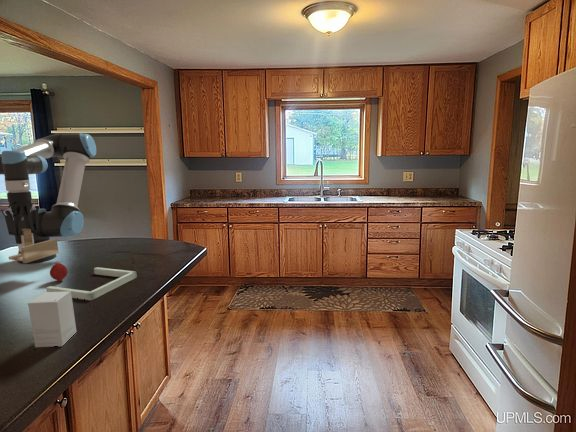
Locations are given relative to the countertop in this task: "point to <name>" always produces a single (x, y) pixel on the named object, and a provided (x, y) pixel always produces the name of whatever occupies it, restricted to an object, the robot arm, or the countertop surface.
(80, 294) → the sage frame
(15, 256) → the wooden scraper
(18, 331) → the countertop surface
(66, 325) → the supplement box
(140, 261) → the countertop surface
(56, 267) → the red round fruit
